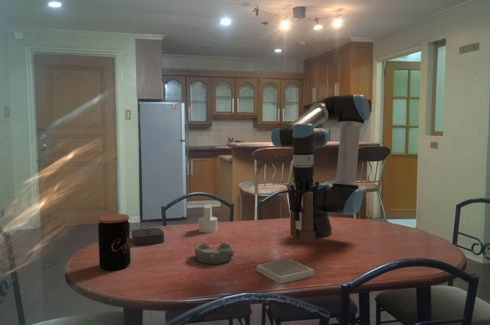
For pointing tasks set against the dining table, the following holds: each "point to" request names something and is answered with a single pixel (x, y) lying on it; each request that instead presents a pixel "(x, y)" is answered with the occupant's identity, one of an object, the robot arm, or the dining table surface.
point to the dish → (213, 253)
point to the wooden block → (304, 220)
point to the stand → (285, 270)
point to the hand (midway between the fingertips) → (303, 228)
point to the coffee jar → (114, 242)
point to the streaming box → (147, 236)
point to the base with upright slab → (208, 221)
